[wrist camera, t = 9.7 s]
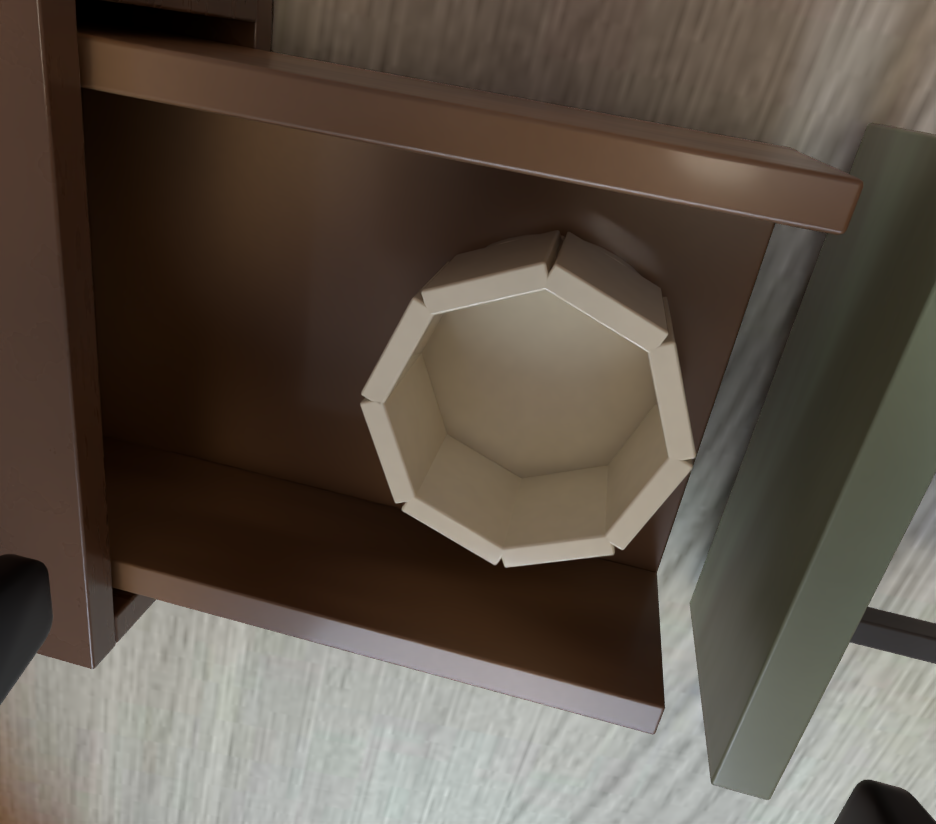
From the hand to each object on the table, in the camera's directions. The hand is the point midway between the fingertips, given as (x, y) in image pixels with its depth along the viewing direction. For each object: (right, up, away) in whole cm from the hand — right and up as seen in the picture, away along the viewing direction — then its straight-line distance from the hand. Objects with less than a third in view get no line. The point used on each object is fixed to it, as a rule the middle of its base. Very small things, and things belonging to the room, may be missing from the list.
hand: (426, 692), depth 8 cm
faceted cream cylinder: (+2, +4, +9) cm, 10 cm away
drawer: (+2, +5, +10) cm, 11 cm away
